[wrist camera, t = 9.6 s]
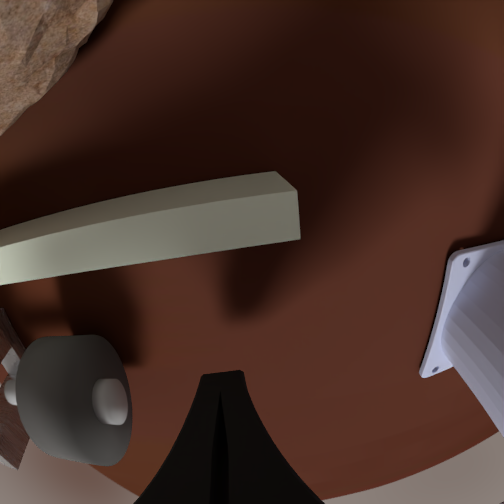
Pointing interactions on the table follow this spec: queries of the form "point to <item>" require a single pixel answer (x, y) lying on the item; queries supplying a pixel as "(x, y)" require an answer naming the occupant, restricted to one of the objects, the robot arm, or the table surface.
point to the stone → (40, 47)
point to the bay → (153, 227)
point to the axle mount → (3, 413)
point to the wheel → (74, 398)
